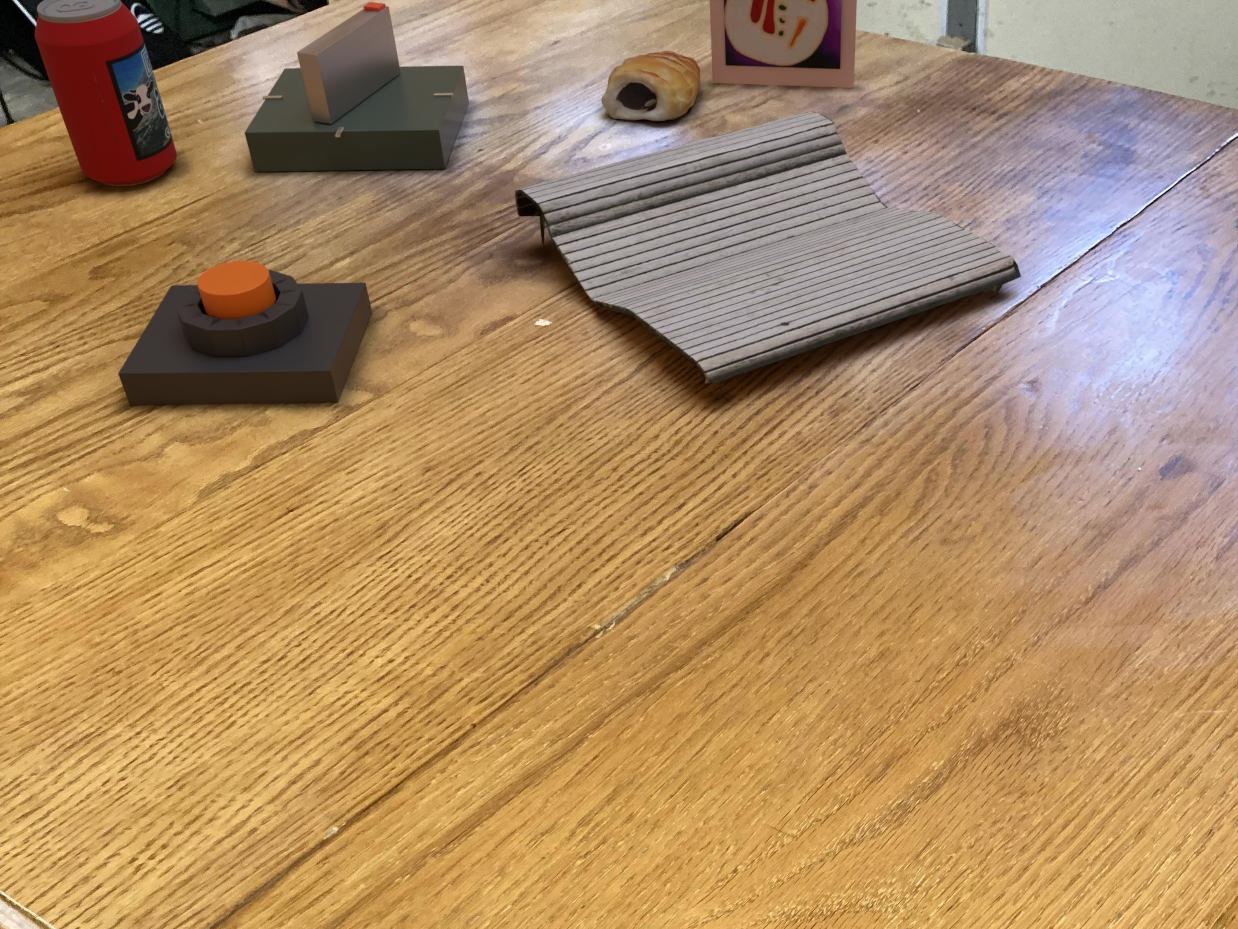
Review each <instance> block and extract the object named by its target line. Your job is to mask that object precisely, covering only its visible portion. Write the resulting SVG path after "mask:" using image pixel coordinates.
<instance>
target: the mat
mask: <svg viewBox="0 0 1238 929" xmlns="http://www.w3.org/2000/svg"><path fill="white" fill-rule="evenodd" d="M514 202H515V207H516V212H517V216H519V217H539V229H540V239H541V243H542V248H543V250H545V233H546V232H545V230H546V228H547V232H548V235H549V237H550V238H551V240H552V242H553V243H554V245H555V247H556V249H557V252H559V255H560V256H561V258H562V259H563V262H564V263H565V264H566V267H568V269H569V270H570V272H571V274H572V276H573V277H574V279H575V280H576V282H577V283H578V285H579V286H580V288H582V290H583V292H585V294H586V295H587V296H588V297H589V299H590V300H591V301H592V302H593V304H594V305H595V306H596V308H601V309H603V310H607V311H612V312H616V313H621V314H624V315H627V316H630V317H632V318H634V319H635V320H637V322H639V323H640V324H641V325H642V326H644V328H645V329H646V330H648V331H649V332H650V333H651V334H653V335H654V336H655V337H656V338H657V339H659V340H660V341H662V342H663V343H664V344H666V345H667V346H668V347H670V348H672V349H673V350H674V351H676V352H677V353H679V354H680V355H682V356H683V357H684V358H685V359H686V360H688V361H689V362H690V363H692V365H694V366H695V367H696V369H698V370H699V371H700V373H701V376H702V377H703V380H704V384H716V383H719V382H720V398H721V396H722V393H723V390H724V386H725V383H726V380H729V379H731V378H733V377H736V376H739V375H742V374H746V373H748V372H751V371H754V370H757V369H760V368H762V367H765V366H769V365H771V364H774V363H777V362H780V361H783V360H786V359H789V358H792V357H795V356H797V355H801V354H803V353H806V352H809V351H813V350H815V349H818V348H820V347H823V346H826V345H829V344H831V343H835V342H837V341H840V340H843V339H845V338H848V337H851V336H855V335H858V334H861V333H863V332H866V331H869V330H872V329H875V328H878V327H881V326H884V325H887V324H890V323H893V322H895V321H898V320H899V321H900V320H903V319H905V318H908V317H911V316H914V315H916V314H920V313H923V312H926V311H928V310H932V309H934V308H937V307H940V306H942V305H946V304H948V303H951V302H954V301H957V300H960V299H963V298H966V297H969V296H973V295H976V294H979V293H983V292H986V291H990V290H994V289H995V296H997V295H998V294H999V292H1000V291H1001V290H1002V287H1003V286H1004V285H1005V284H1008V283H1010V282H1012V281H1015V280H1017V279H1019V278H1022V275H1021V272H1020V269H1019V268H1020V267H1019V265H1018V263H1017V261H1016V260H1015V259H1014V257H1013V256H1012V255H1010V254H1008V253H1005V252H1002V251H1001V250H1000V249H999V248H998V246H996V245H994V244H992V243H990V242H989V241H987V240H986V239H984V238H982V237H981V236H979V235H976V234H975V233H973V232H971V231H970V230H967V229H966V228H964V227H962V226H961V225H959V224H957V223H955V222H953V221H951V220H950V219H947V218H946V217H944V216H942V215H940V214H938V213H936V212H933V211H925V210H911V209H903V208H897V207H889V206H887V205H886V204H885V203H884V202H882V200H881V199H880V198H879V196H878V195H877V193H876V192H875V191H874V189H873V188H872V186H871V185H870V184H869V182H868V181H867V180H866V179H865V176H864V175H863V174H862V173H861V171H860V170H859V168H858V167H857V166H856V164H855V163H854V162H853V160H851V158H850V157H849V156H848V154H847V151H846V148H845V145H844V143H843V141H842V139H841V137H840V135H839V134H838V132H837V129H836V124H835V122H834V121H833V120H831V119H830V118H829V117H828V116H825V115H824V114H821V113H818V112H816V111H807V112H803V113H800V114H795V115H791V116H786V117H782V118H779V119H775V120H774V119H773V120H771V121H768V122H765V123H762V124H758V125H754V126H751V127H747V128H742V129H739V130H734V131H731V132H727V133H723V134H720V135H719V134H718V135H714V136H711V137H707V138H702V139H699V140H695V141H691V142H688V143H684V144H679V145H677V146H673V147H670V148H666V149H663V150H659V151H655V152H650V153H646V154H642V155H639V156H634V157H631V158H628V159H623V160H620V161H617V162H613V163H612V162H611V163H609V164H605V165H602V166H598V167H594V168H591V169H586V170H583V171H579V172H576V173H572V174H569V175H564V176H560V177H557V178H552V179H549V180H544V181H540V182H537V183H534V184H530V185H527V186H524V187H521V188H518V189H515V191H514ZM545 225H546V227H545Z"/></svg>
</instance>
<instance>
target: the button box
mask: <svg viewBox="0 0 1238 929" xmlns="http://www.w3.org/2000/svg"><path fill="white" fill-rule="evenodd" d="M268 271H269V274H270V277H271V281H272V285H273V289H274V292H275V296H276V302H275V304H274V305H272V306H271V307H269V308H268V309H266V310H264V311H263V312H261V313H258V314H255V315H251V316H247V317H244V318H240V319H217V318H214V317H211V316H208V315H207V313H206V311H205V308H204V305H203V302H202V299H201V295H200V292H199V289H198V286H197V284H176V285H175V284H174V285H170V286H169V288H168V290H167V292H166V293H165V295H164V297H163V299H162V300H161V302H160V303H159V305H158V306H157V308H156V310H155V311H154V313H153V315H152V316H151V317H150V320H149V322H148V323H147V325H146V326H145V328H144V330H143V332H142V333H141V335H140V336H139V338H138V340H137V341H136V343H135V345H134V347H133V348H132V350H131V352H130V353H129V355H128V356H127V358H126V359H125V361H124V363H123V365H122V366H121V367H120V370H119V371H118V374H117V375H118V377H119V380H120V383H121V384H122V385H121V386H122V389H123V391H124V393H125V396H126V399H127V402H128V405H129V406H188V405H189V406H190V405H191V406H192V405H193V406H194V405H196V406H197V405H201V406H203V405H264V404H266V405H268V404H270V405H271V404H275V405H276V404H336V403H339V402H340V400H341V396H342V394H343V392H344V388H345V386H346V384H347V381H348V379H349V376H350V373H351V371H352V368H353V365H354V364H355V363H354V362H355V361H356V357H357V355H358V352H359V350H360V347H361V345H362V343H363V342H362V341H363V340H364V337H365V334H366V331H367V329H368V326H369V324H370V321H371V318H372V316H373V310H372V307H371V306H372V305H371V301H370V296H369V292H368V287H367V283H366V282H326V283H325V282H317V283H316V282H311V283H310V282H307V283H303V282H302V283H298V281H297V280H295V278H294V277H293V276H292V275H288V274H286V273H282V272H279V271H276V270H273V269H268Z"/></svg>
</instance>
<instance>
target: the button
mask: <svg viewBox="0 0 1238 929" xmlns="http://www.w3.org/2000/svg"><path fill="white" fill-rule="evenodd" d="M268 270H269V269H268V268H267V266H265V265H264V264H262V263H260V262H257V261H252V260H235V261H228V262H223V263H221V264H217V265H214V266H212V267H210V268H208V269H206V270H205V271H204V272H202V273H201V275H199V277H198V278H197V281H196V282H197V283H196V285H197V286H198V289H199V292H200V295H201V299H202V302H203V305H204V308H205V311H206V313H207V315H208V316H211V317H214V318H217V319H240V318H244V317H247V316H251V315H255V314H258V313H261V312H263V311H264V310H266V309H268V308H269V307H271V306H272V305H274V304H275V302H276V296H275V292H274V289H273V285H272V281H271V277H270V274H269V271H268Z"/></svg>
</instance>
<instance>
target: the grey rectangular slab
mask: <svg viewBox="0 0 1238 929" xmlns="http://www.w3.org/2000/svg"><path fill="white" fill-rule="evenodd" d="M296 55H297V60H298V63H299V68H301V73H302V77H303V81H304V86H305V90H306V94H307V99H308V103H309V108H310V112H311V116H312V121H313V122H320V123H327V124H332V123H334V122H335V121H336V120H338V119H339V118H340V117H342V116H343V115H344V114H346V113H347V112H348V111H350V110H351V109H353V108H354V107H355V106H357V105H358V104H359V103H361V102H362V101H363V100H365V99H366V98H367V97H369V96H370V95H372V94H373V93H374V92H376V91H377V90H378V89H380V88H381V87H382V86H384V85H385V84H386V83H388V82H389V81H391V80H392V79H393V78H395V77H396V76H397V75H399V74H400V73H401V71H400V67H401V66H400V60H399V56H398V50H397V44H396V39H395V34H394V28H393V22H392V16H391V11H390V7H389V6H388V5H386V3H383V2H373V1H369V2H368V3H366V4H364V5H363V8H362V9H361V10H359V11H358V12H356V13H355V14H353V15H351V16H350V17H348V18H347V19H346V20H344V21H342V22H341V23H339V24H338V25H336V26H335V27H333V28H331V29H330V30H329V31H327V32H325V33H324V34H322V35H321V36H319V37H318V38H316V39H315V40H313V41H312V42H310V43H309V44H307V45H306V46H304V47H302V48H301V49H299V50H298V51H296Z"/></svg>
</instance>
